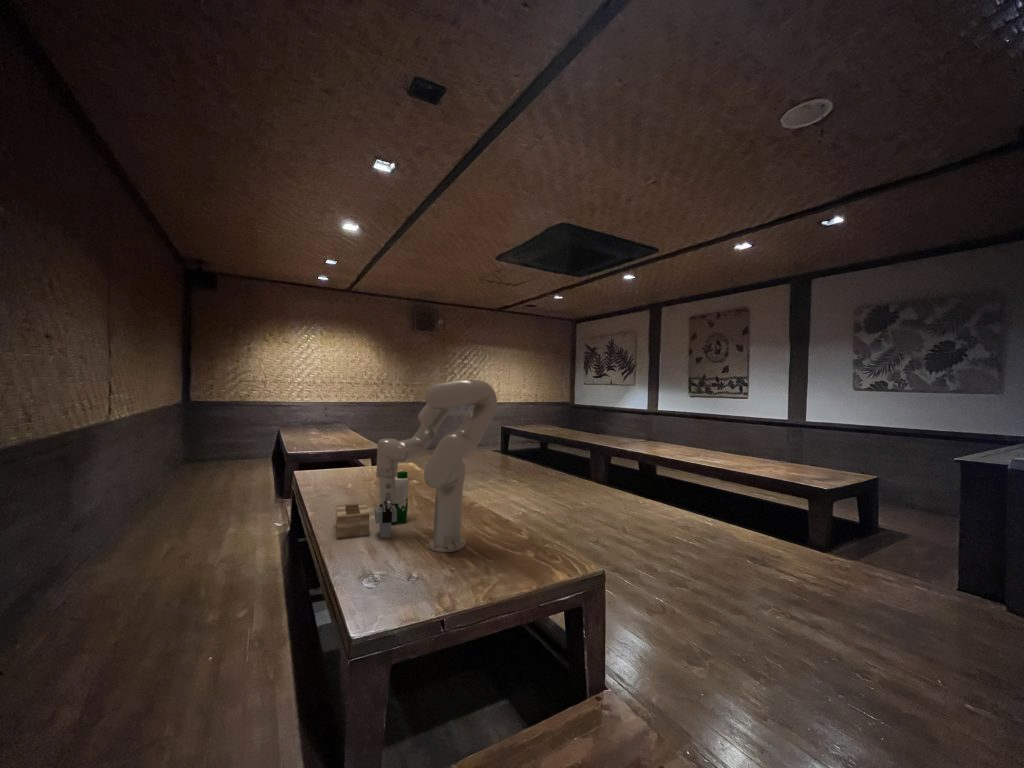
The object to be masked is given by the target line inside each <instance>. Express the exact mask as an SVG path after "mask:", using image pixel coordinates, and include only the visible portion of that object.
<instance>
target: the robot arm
mask: <svg viewBox="0 0 1024 768" xmlns="http://www.w3.org/2000/svg"><path fill="white" fill-rule="evenodd" d="M424 400H425V403H426V404H425V406H424V407H422V409H421V411H420V412H419V413H418V417H417V418H418V420H419V422H420V426H419V428H418V429H417V431H416V432H415V434H414V435H413V436H412V437H411V438H407V439H403V440H398V439H396V438H382V439H379V440H378V442H377V446H376V447H377V450H376V451H377V452H376V470H375V471H376V474H375V475H376V478H378V484H379V485H378V499H379V507H381V506H383V509H384V512H383V518H382V522H383V523H391V522H392V504H393V505H394V504H395V477H397V474H398V472H399V471H398V469H399V468H398V467H399V463H400V462H407V461H409V460H414V459H417V458H419V457H420V456H422V455H423V454H424V453H425V452H426V451H427V449H428V448H429V447H430V446H431V445H432V443H433V441H435V437H436V435H437V433H438V430H439V429H438V428H439V427H440V426H441V424H443V422H444V421H445V419H446V418H447V416H448V415H449V414H450V413H451V411H453V409H454V408H458V407H468V406H472V407H471V409H470V410H469V411H468V412H467V414H466V415H465V418H464V419H463V421H462V423H461V424H460V426H459V427H458V428H457V430H455V431H451V432H449V433H447V434H445V435H444V436H442V438H440V441H439V442H438V444H437V446H436V447H435V449H434V451H433V453H432V454H431V456H430V458H429V460H428V461H427V463H426V465H425V467H424V471H423V478H424V481H425V484H426V485H427V486H428V487H430V488H432V489H435V497H434V514H433V515H434V521H433V539H432V538H431V540H430V541H429V542H428V547H429V548H430V549H431V550H432V551H434V552H438V553H453V552H457V551H461V550H462V549H464V548H465V547H466V540H465V539H464V538H462V519H463V516H462V514H463V513H462V512H463V493H464V491H463V490H464V483H465V476H466V466H465V462H464V461H463V459H466V458H468V457H470V456H471V455H473V454H474V453H475V451H476V449H477V447H478V445H479V444H480V442H481V440H482V439H483V437H484V436H485V433H486V432H487V429H488V428H489V426H490V424H491V423H492V421H493V419H494V416H496V411H497V407H498V399H497V395H496V392H495V390H494V388H493V387H492V385H490V384H489V383H488V382H487V381H484V380H477V379H476V380H475V379H462V380H456V381H450V382H449V381H448V382H442V383H435V384H432V385H431V386H429V387H428V388H427V389H426V391H425V395H424ZM391 502H392V503H391ZM385 506H386V507H385Z"/></svg>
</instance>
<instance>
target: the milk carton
mask: <svg viewBox="0 0 1024 768" xmlns="http://www.w3.org/2000/svg"><path fill="white" fill-rule="evenodd" d="M408 473H409V472H408V471H405V470H404V471H398V473H397V477H395V504H394V506H395V508H396V510H397V522H391V526H392V525H399V524H406V523H407V516H408V507H409V505H408V503H409V477H408ZM391 503H392V502H391ZM392 505H393V504H392Z"/></svg>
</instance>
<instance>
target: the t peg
mask: <svg viewBox="0 0 1024 768" xmlns="http://www.w3.org/2000/svg"><path fill="white" fill-rule="evenodd" d="M385 507H386V506H385ZM383 512H384V509H383V506H381V507H380V506H375V507H374V520H375V522H376V524H377V525H378V524H379V535H378V536H379V538H380V539H386V538H391V536H392V535H391V534H392V525H391V523H383V522H382V518H383ZM392 522H397V510H396V508H395V506H394V505H392Z"/></svg>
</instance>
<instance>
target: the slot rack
mask: <svg viewBox="0 0 1024 768" xmlns="http://www.w3.org/2000/svg"><path fill="white" fill-rule="evenodd" d="M335 519H336V520H335V521H336V522H335V527H336V528H335V529H336V531H335V532H336V533H335V535H336V540H338V541H339V540H346V539H354V538H362V537H370V536H369V533H370V512H369V509H368V505H367V502H356V503H345V504H336V518H335Z"/></svg>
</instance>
